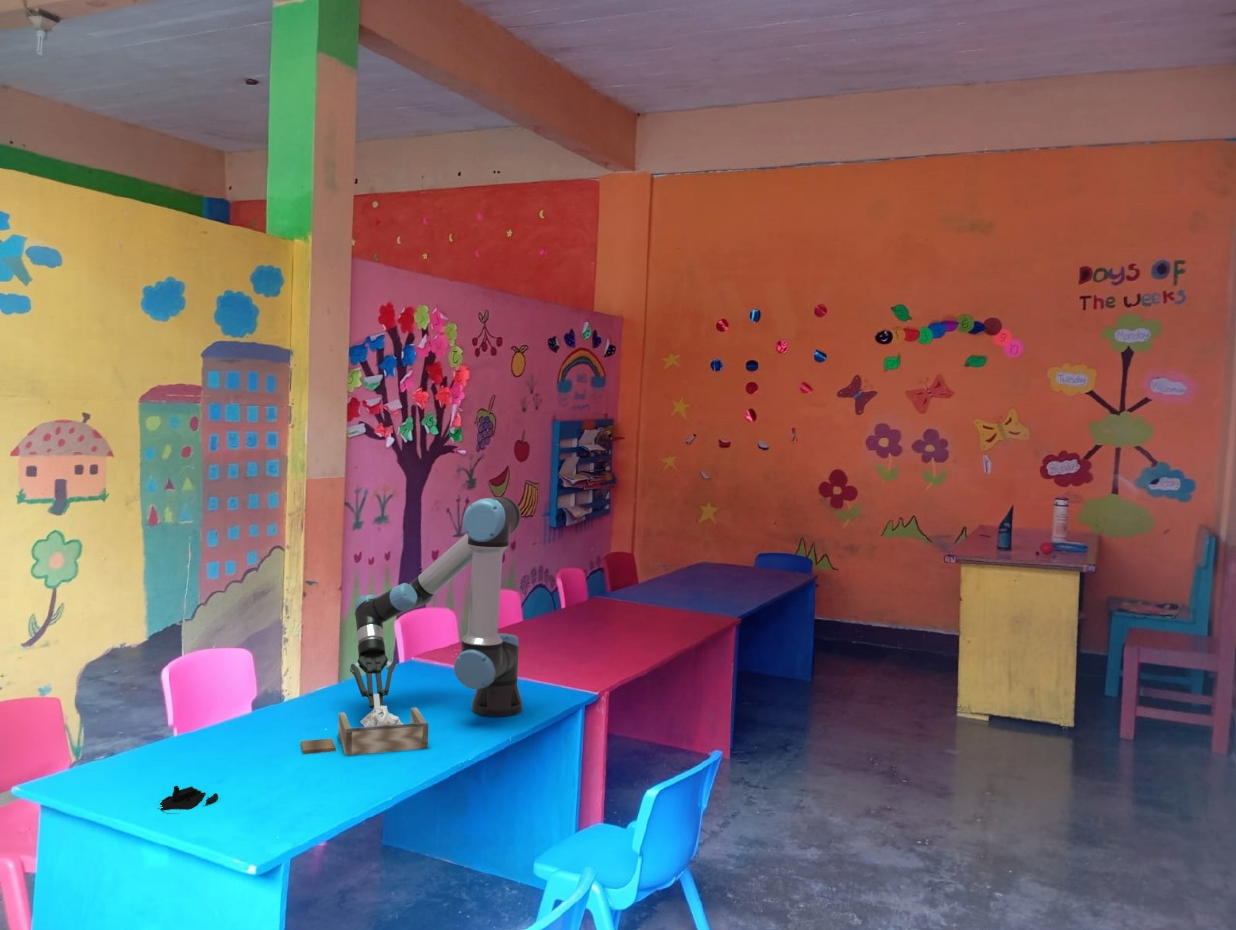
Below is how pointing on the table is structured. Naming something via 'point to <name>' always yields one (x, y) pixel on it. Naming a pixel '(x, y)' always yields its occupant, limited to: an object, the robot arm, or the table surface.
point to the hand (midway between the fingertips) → (377, 717)
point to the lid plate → (318, 746)
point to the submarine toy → (185, 799)
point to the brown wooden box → (384, 736)
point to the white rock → (380, 718)
